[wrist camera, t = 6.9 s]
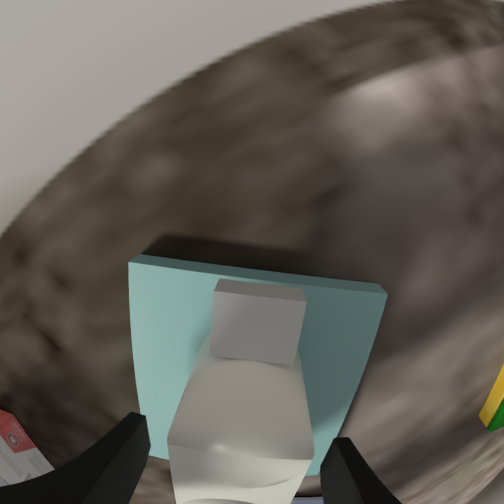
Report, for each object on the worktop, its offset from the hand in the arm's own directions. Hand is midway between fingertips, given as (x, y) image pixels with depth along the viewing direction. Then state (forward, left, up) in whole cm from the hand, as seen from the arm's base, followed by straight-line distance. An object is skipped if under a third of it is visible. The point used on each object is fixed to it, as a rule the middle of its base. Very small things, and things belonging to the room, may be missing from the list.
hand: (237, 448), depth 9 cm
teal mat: (0, 0, -4) cm, 4 cm away
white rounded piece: (+1, 0, -3) cm, 3 cm away
